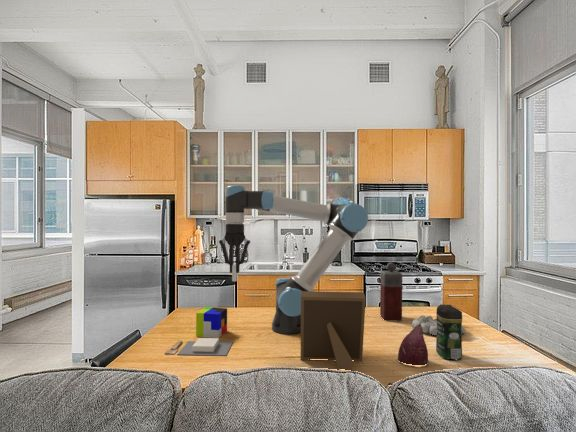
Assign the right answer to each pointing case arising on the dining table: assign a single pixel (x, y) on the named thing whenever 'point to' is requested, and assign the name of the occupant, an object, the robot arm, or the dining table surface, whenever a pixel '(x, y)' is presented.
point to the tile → (205, 345)
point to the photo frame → (332, 326)
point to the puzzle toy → (211, 322)
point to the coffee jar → (449, 332)
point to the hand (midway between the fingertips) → (234, 280)
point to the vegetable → (414, 348)
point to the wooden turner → (173, 348)
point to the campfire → (429, 324)
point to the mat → (219, 351)
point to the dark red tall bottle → (391, 294)
